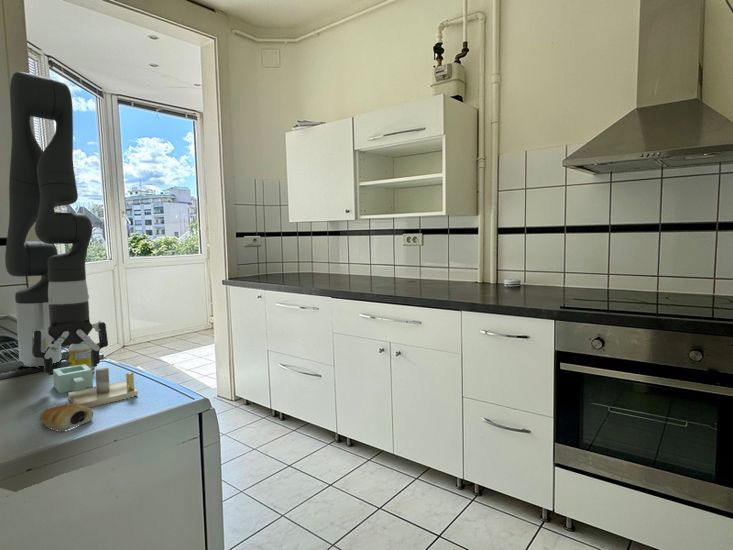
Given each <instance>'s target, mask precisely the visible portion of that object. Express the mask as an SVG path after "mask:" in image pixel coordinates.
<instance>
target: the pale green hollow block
mask: <svg viewBox="0 0 733 550" xmlns="http://www.w3.org/2000/svg"><path fill="white" fill-rule="evenodd" d="M52 378H53V387H54V388H55V390H56V391H57V392H58V393H59V394H64V393H70V392H75V391H80V390H84V389H89V388H94V381H93V378H94V377H93V373H92V369H91V368H89V367H88V366H87V365H86V364H81V365H76V366H70V365H69V366H65V367H60V368H53V375H52Z"/></svg>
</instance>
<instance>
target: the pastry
mask: <svg viewBox="0 0 733 550" xmlns="http://www.w3.org/2000/svg"><path fill="white" fill-rule="evenodd" d="M93 417H94V411H93V410H92V409H91V407H90V408H88V407H87V406H83V405H79V404H73V403H67V404H61V405H57V406H53V407H48V408H47V409H45V410H44V411H43V412H42V413H41V414H40V417H39V418H40V420H41V422H42V423H43V425H44V426H45V428H46V427H50V428H52V429H54V430H58V431H65V430H68V429H71V428H73V427H76V426H78V425H81V424H83V425H85V424H84V423H86V424H87V422H88V423H89V422H91V420H92V419H93ZM81 426H82V425H81ZM50 428H49V429H50ZM52 429H51V430H52ZM54 430H53V431H54Z"/></svg>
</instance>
